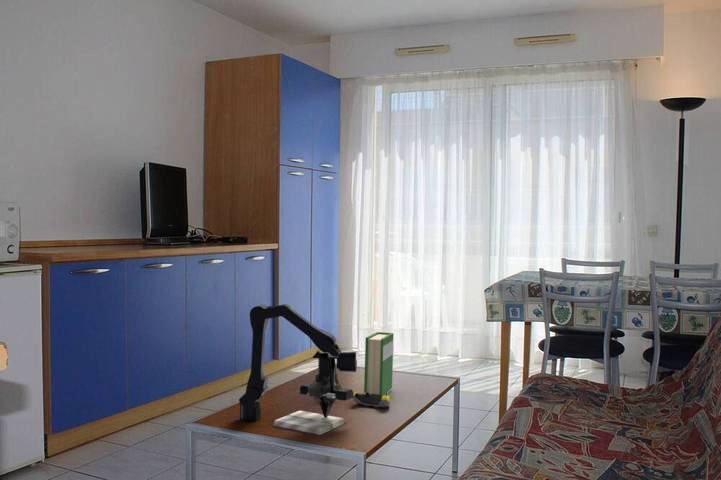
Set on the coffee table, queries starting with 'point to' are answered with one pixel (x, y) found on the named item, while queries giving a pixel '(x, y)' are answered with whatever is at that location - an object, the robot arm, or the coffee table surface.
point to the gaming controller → (371, 399)
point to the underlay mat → (313, 433)
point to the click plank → (319, 418)
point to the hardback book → (378, 363)
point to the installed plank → (303, 425)
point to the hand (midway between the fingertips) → (325, 416)
